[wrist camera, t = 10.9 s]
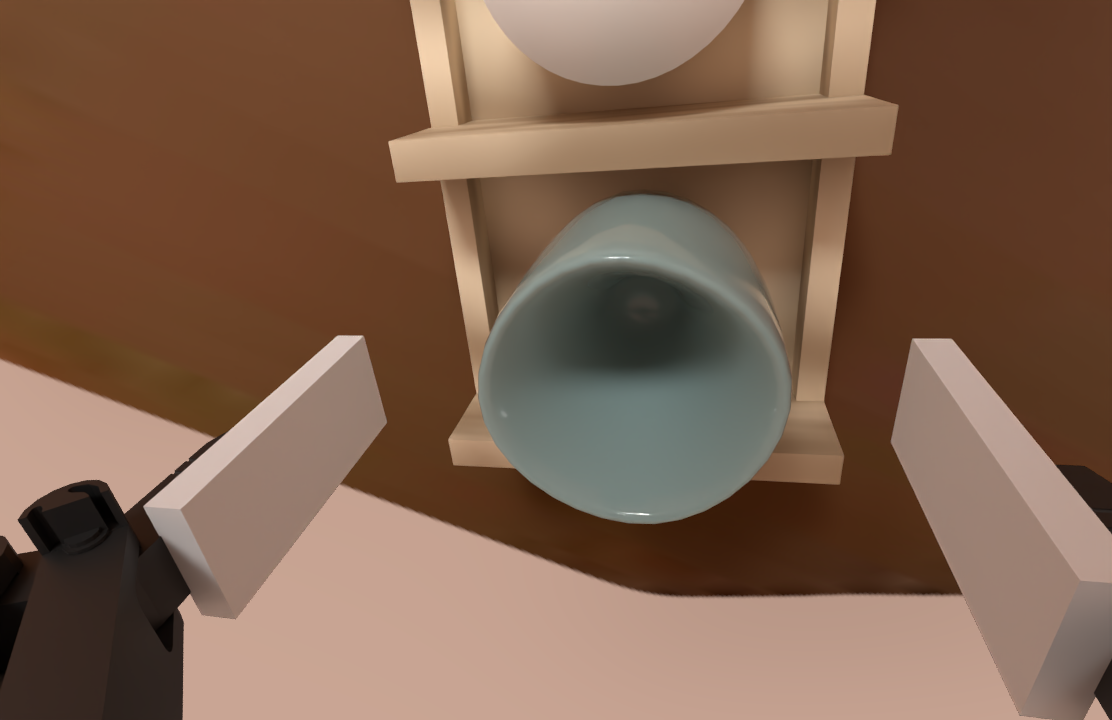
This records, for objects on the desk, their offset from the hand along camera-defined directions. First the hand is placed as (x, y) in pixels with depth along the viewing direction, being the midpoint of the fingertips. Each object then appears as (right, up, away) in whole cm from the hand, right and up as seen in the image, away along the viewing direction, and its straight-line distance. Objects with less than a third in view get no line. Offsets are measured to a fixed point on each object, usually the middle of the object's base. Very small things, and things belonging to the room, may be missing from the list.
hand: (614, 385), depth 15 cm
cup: (+2, +4, +9) cm, 10 cm away
